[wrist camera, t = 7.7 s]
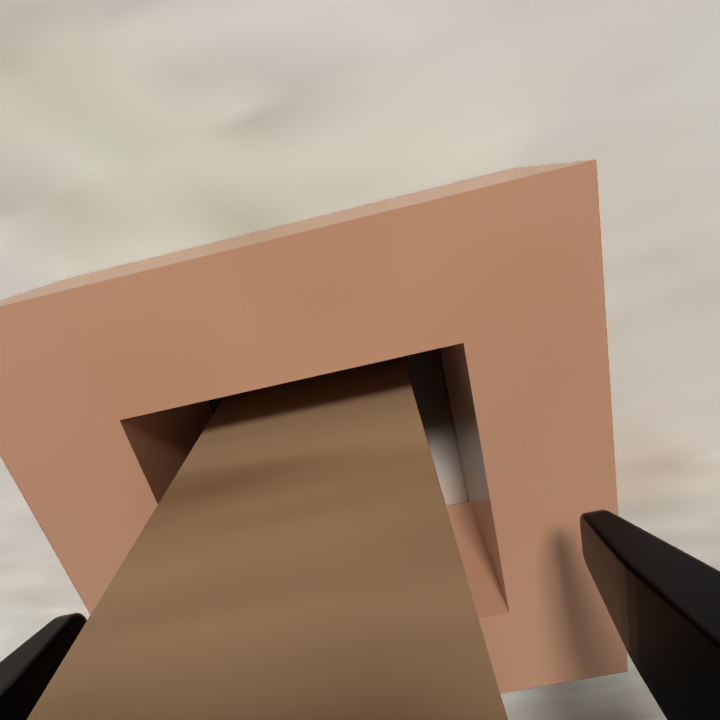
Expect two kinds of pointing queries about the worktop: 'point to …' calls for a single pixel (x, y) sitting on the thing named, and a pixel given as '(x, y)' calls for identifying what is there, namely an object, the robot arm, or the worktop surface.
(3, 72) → the worktop surface
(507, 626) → the frame
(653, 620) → the robot arm
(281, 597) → the walnut peg
